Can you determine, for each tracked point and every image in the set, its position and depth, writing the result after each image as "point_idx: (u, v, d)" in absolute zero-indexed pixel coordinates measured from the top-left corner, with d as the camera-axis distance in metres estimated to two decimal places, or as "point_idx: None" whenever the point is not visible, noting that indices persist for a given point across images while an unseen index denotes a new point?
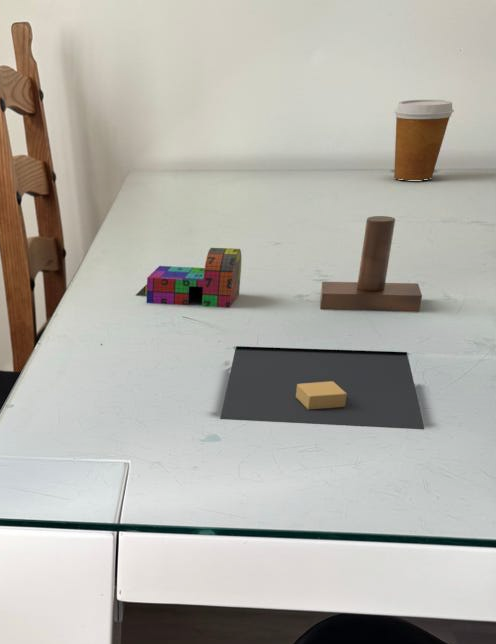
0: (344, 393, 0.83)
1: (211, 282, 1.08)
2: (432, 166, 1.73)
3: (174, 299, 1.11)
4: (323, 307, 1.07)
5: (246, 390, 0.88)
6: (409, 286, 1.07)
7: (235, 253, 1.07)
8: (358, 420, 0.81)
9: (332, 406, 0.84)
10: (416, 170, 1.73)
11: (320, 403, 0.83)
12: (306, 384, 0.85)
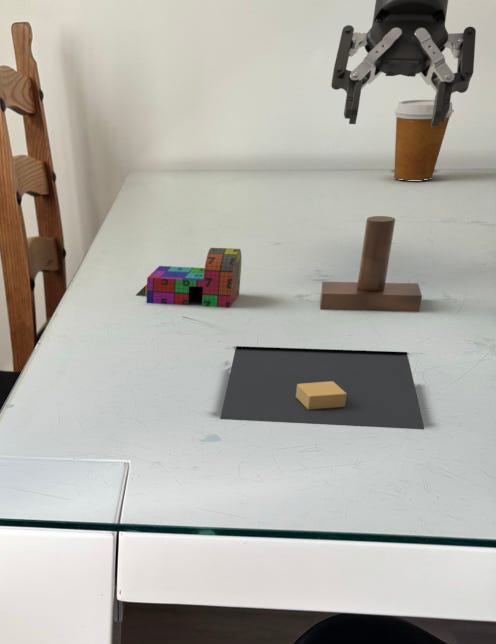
0: (344, 393, 0.83)
1: (212, 282, 1.08)
2: (432, 166, 1.73)
3: (174, 299, 1.11)
4: (323, 307, 1.07)
5: (246, 390, 0.88)
6: (409, 286, 1.07)
7: (235, 253, 1.07)
8: (358, 420, 0.81)
9: (332, 406, 0.84)
10: (416, 170, 1.73)
11: (320, 403, 0.83)
12: (306, 384, 0.85)
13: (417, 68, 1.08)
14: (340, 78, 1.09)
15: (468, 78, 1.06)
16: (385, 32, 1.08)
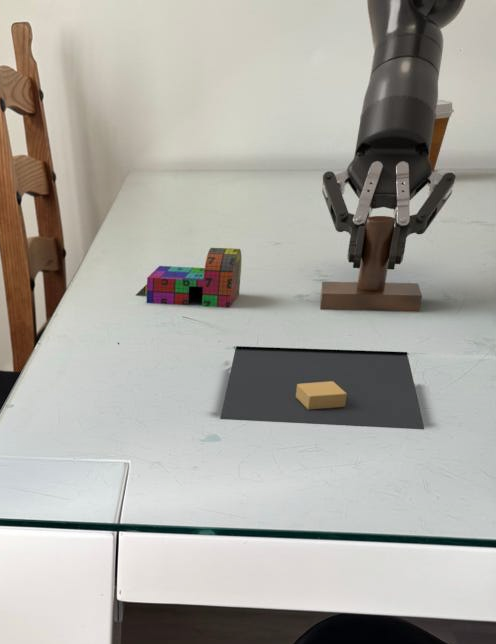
0: (344, 393, 0.83)
1: (212, 282, 1.08)
2: (432, 166, 1.73)
3: (174, 299, 1.11)
4: (323, 307, 1.07)
5: (246, 390, 0.88)
6: (409, 286, 1.07)
7: (235, 253, 1.07)
8: (358, 420, 0.81)
9: (332, 406, 0.84)
10: None
11: (320, 403, 0.83)
12: (306, 384, 0.85)
13: (386, 199, 1.05)
14: (343, 222, 1.05)
15: (424, 221, 1.02)
16: (366, 165, 1.05)
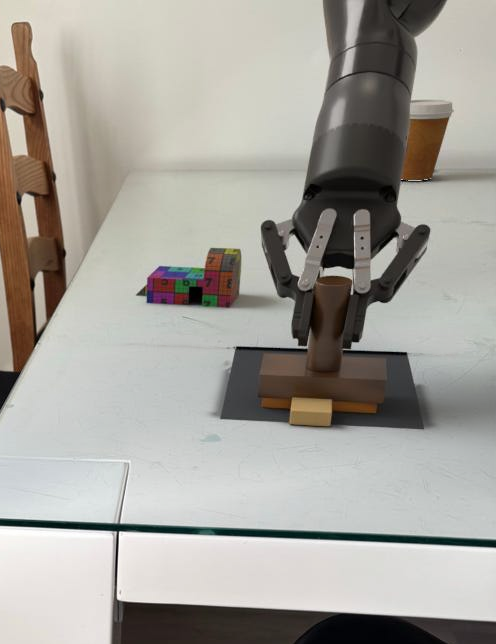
0: (329, 412, 0.80)
1: (211, 282, 1.08)
2: (432, 166, 1.73)
3: (174, 299, 1.11)
4: (261, 391, 0.83)
5: (246, 390, 0.88)
6: (373, 363, 0.83)
7: (235, 253, 1.07)
8: (358, 420, 0.81)
9: (315, 424, 0.80)
10: (416, 170, 1.73)
11: (302, 419, 0.80)
12: (300, 398, 0.82)
13: (342, 258, 0.81)
14: (286, 286, 0.81)
15: (389, 288, 0.78)
16: (316, 213, 0.81)
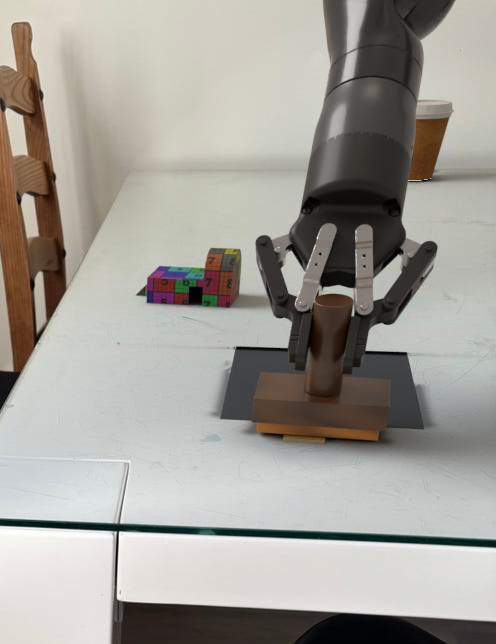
0: (322, 441, 0.78)
1: (212, 282, 1.08)
2: (432, 166, 1.73)
3: (174, 299, 1.11)
4: (256, 416, 0.78)
5: (246, 390, 0.88)
6: (376, 385, 0.78)
7: (235, 253, 1.07)
8: None
9: None
10: (416, 170, 1.73)
11: None
12: None
13: (342, 276, 0.75)
14: (282, 306, 0.75)
15: (393, 309, 0.73)
16: (315, 228, 0.76)
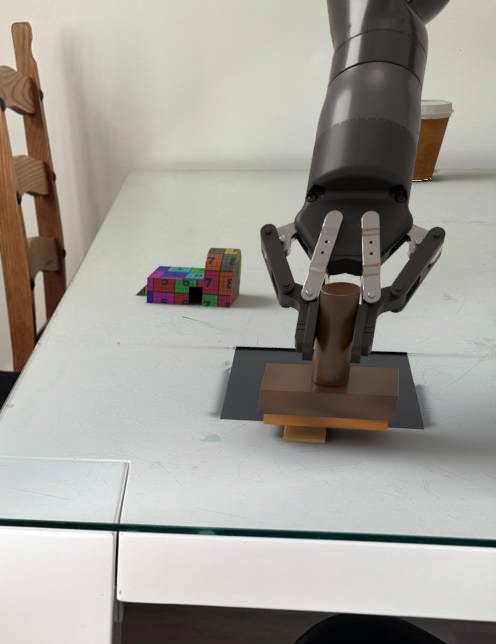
0: (322, 440, 0.78)
1: (211, 282, 1.08)
2: (432, 166, 1.73)
3: (174, 299, 1.11)
4: (263, 407, 0.77)
5: (246, 390, 0.88)
6: (385, 375, 0.77)
7: (235, 253, 1.07)
8: None
9: None
10: (416, 170, 1.73)
11: None
12: None
13: (349, 264, 0.74)
14: (288, 296, 0.74)
15: (401, 296, 0.72)
16: (320, 216, 0.75)
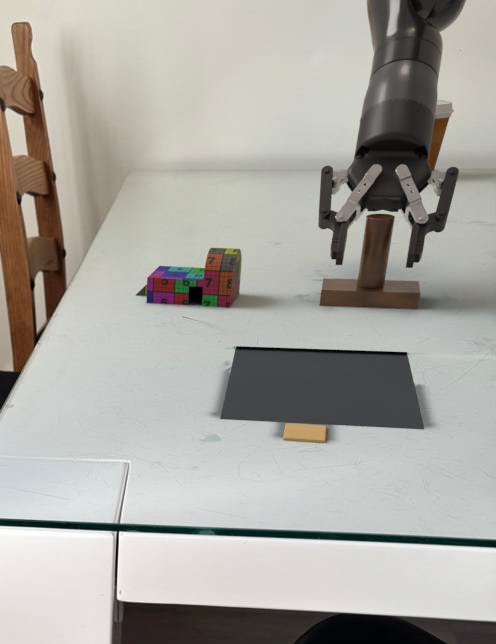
0: (322, 440, 0.78)
1: (212, 282, 1.08)
2: (432, 166, 1.73)
3: (174, 299, 1.11)
4: (322, 303, 1.08)
5: (246, 390, 0.88)
6: (409, 284, 1.08)
7: (235, 253, 1.07)
8: (358, 420, 0.81)
9: None
10: None
11: None
12: (294, 425, 0.80)
13: (395, 204, 1.04)
14: (326, 219, 1.06)
15: (443, 219, 1.02)
16: (366, 168, 1.05)
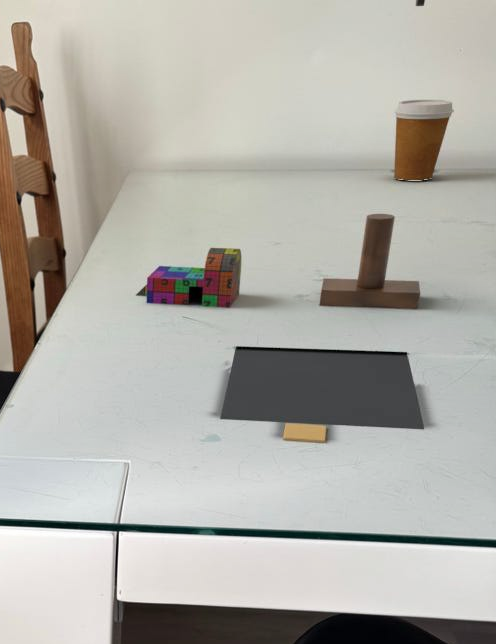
0: (322, 440, 0.78)
1: (212, 282, 1.08)
2: (432, 166, 1.73)
3: (174, 299, 1.11)
4: (322, 303, 1.08)
5: (246, 390, 0.88)
6: (409, 284, 1.08)
7: (235, 253, 1.07)
8: (358, 420, 0.81)
9: None
10: (416, 170, 1.73)
11: None
12: (294, 425, 0.80)
13: None
14: None
15: None
16: None
